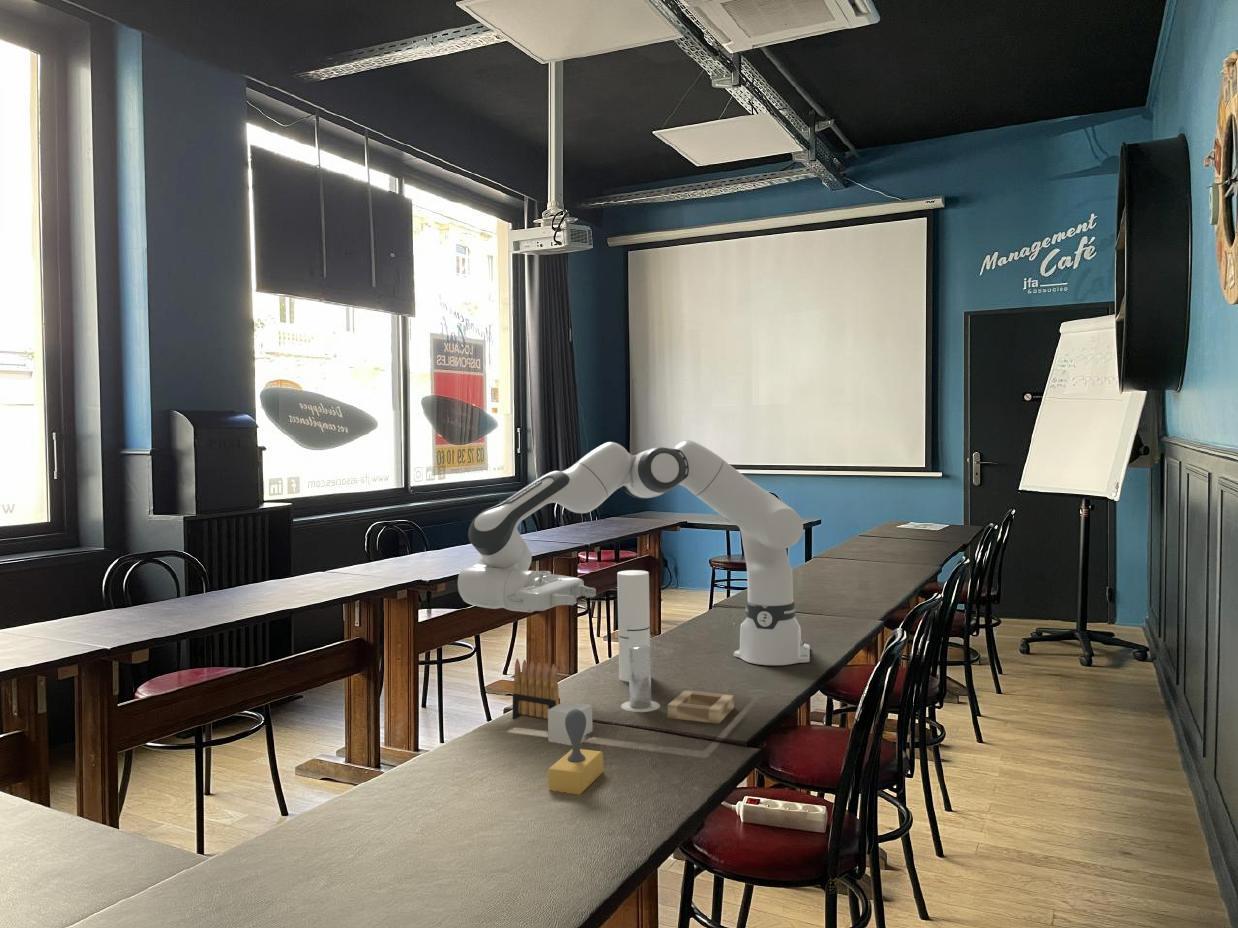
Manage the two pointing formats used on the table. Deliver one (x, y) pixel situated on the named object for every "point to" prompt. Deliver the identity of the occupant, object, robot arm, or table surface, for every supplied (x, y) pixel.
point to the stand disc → (627, 707)
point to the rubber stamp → (575, 760)
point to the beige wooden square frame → (701, 706)
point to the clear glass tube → (640, 676)
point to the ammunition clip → (534, 691)
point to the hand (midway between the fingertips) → (585, 596)
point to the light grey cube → (557, 722)
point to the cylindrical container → (632, 615)
